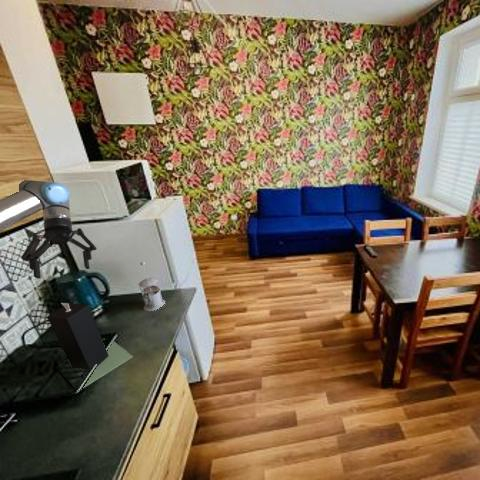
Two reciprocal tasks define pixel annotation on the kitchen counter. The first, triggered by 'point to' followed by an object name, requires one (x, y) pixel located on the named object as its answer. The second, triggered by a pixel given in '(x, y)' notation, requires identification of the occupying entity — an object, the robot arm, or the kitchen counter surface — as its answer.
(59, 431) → the kitchen counter surface
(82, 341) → the tissue box
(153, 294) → the french press
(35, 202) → the robot arm
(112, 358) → the mat
